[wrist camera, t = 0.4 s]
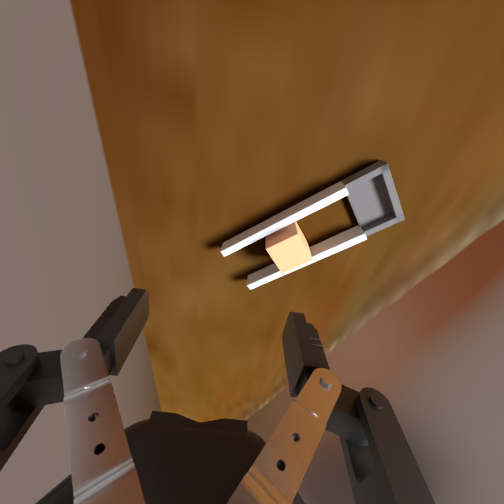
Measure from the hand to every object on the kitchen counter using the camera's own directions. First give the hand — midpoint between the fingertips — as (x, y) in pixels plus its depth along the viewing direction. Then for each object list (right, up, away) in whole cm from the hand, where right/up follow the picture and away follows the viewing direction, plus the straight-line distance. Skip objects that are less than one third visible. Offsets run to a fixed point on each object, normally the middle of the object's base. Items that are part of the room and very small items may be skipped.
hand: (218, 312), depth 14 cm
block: (+7, +6, +22) cm, 23 cm away
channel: (+7, +6, +21) cm, 23 cm away
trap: (+17, +10, +18) cm, 27 cm away
